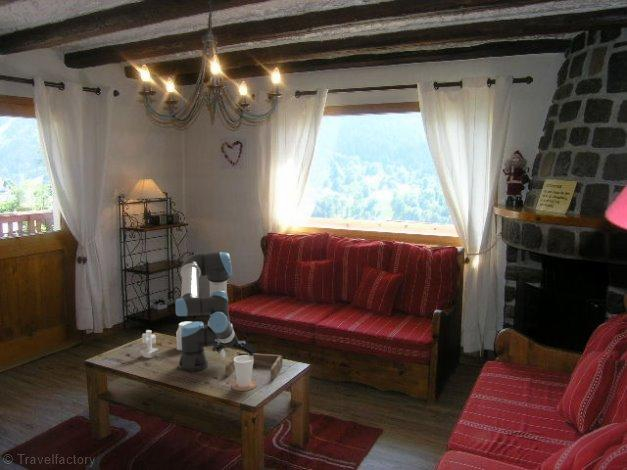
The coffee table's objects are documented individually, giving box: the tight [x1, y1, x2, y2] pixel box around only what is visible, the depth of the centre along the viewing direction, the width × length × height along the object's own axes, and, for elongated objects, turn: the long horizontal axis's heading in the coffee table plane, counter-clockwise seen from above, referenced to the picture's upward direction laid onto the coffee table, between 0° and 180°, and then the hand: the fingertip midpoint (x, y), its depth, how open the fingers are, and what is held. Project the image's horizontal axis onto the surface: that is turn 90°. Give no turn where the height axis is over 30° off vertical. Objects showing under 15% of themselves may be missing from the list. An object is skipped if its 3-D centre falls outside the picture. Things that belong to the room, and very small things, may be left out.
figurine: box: [140, 329, 160, 359], centre depth 282 cm, size 7×9×15 cm
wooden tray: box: [225, 351, 283, 381], centre depth 263 cm, size 18×25×6 cm
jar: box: [175, 321, 192, 351], centre depth 295 cm, size 12×10×15 cm
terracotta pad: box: [231, 379, 257, 392], centre depth 246 cm, size 12×12×1 cm
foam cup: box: [234, 355, 254, 387], centre depth 245 cm, size 10×9×13 cm
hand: (238, 356), depth 236 cm, fingers open, 13 cm apart
